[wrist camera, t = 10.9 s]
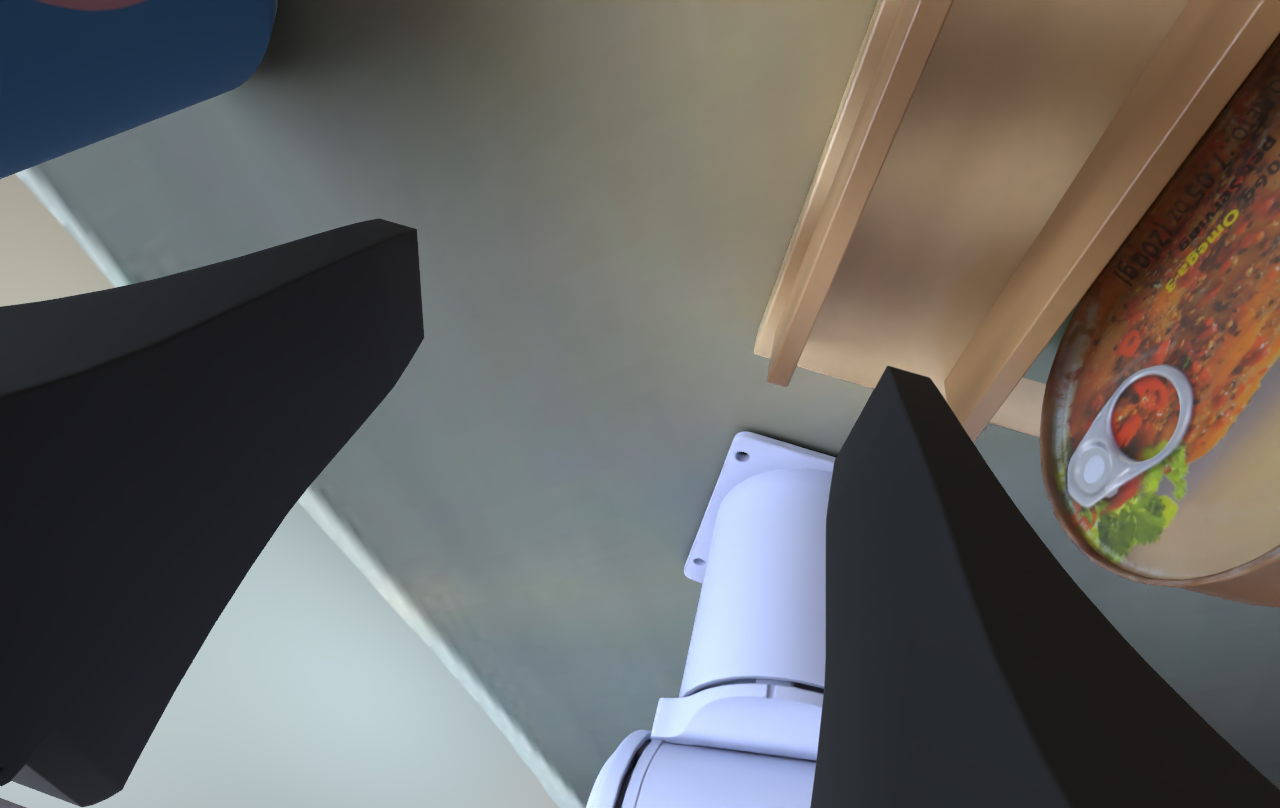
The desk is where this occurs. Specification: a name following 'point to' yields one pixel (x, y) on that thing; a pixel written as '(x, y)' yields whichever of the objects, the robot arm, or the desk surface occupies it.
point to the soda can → (115, 66)
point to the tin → (1182, 375)
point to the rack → (994, 184)
